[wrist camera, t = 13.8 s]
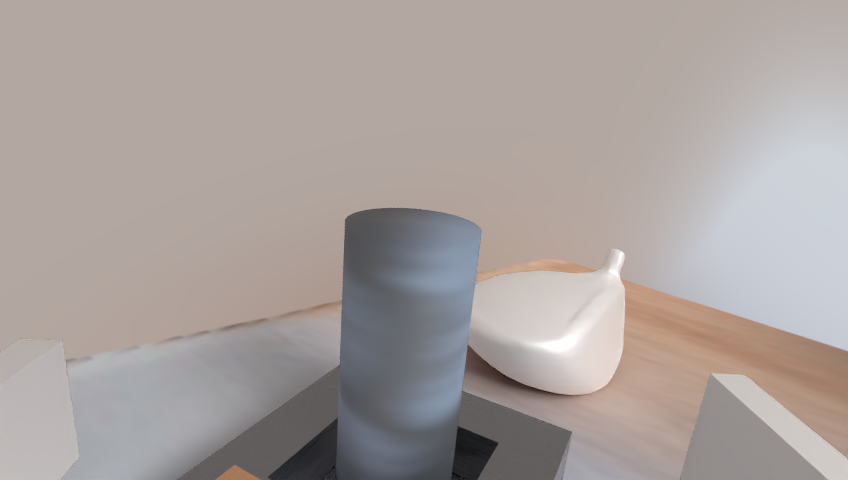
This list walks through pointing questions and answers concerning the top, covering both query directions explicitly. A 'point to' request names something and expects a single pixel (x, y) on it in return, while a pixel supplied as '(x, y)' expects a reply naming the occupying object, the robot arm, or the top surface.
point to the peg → (403, 342)
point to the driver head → (552, 326)
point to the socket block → (317, 442)
